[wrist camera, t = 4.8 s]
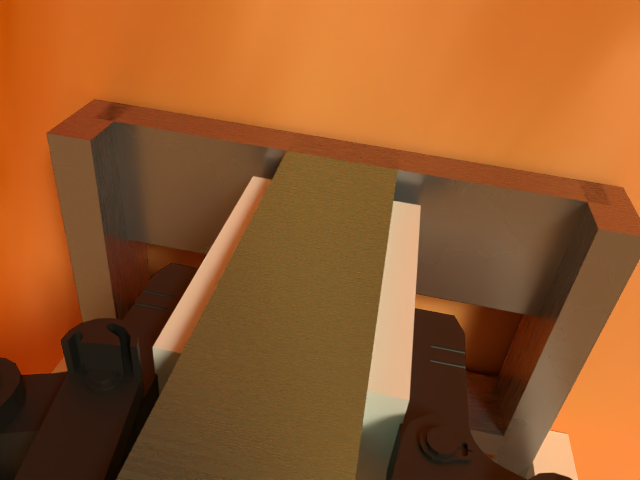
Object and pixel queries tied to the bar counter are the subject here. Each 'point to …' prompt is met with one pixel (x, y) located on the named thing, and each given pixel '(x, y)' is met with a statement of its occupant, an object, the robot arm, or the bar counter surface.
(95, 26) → the bar counter surface
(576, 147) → the bar counter surface
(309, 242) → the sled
